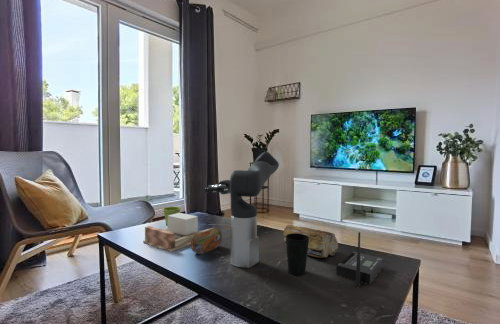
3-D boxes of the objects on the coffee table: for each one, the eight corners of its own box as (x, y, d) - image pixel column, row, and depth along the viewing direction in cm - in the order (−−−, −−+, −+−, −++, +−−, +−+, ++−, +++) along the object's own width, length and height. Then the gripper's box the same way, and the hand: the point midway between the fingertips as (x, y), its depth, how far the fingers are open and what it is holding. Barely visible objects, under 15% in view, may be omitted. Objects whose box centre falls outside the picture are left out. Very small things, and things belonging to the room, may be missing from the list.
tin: (194, 257, 106) (194, 235, 105) (189, 255, 107) (189, 233, 107) (222, 246, 117) (222, 226, 117) (216, 244, 119) (216, 225, 119)
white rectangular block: (197, 231, 126) (197, 216, 126) (186, 235, 120) (186, 219, 120) (179, 227, 133) (179, 212, 133) (167, 230, 127) (167, 215, 127)
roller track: (207, 238, 128) (207, 223, 127) (171, 251, 110) (171, 234, 110) (180, 231, 138) (180, 217, 137) (143, 242, 120) (143, 227, 120)
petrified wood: (279, 248, 114) (282, 224, 115) (296, 247, 123) (299, 224, 125) (322, 260, 101) (325, 232, 102) (338, 258, 110) (340, 232, 112)
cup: (303, 279, 88) (303, 242, 88) (281, 273, 92) (281, 237, 92) (311, 270, 95) (312, 235, 94) (290, 265, 99) (291, 231, 98)
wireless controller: (347, 260, 105) (349, 215, 104) (388, 270, 97) (389, 221, 96) (326, 279, 89) (327, 226, 89) (372, 293, 81) (374, 235, 80)
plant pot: (162, 222, 153) (162, 207, 152) (180, 221, 155) (180, 206, 155) (162, 227, 144) (162, 210, 143) (181, 226, 146) (181, 209, 146)
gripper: (218, 178, 156) (196, 181, 142) (238, 180, 149) (216, 184, 135) (218, 192, 157) (196, 196, 143) (237, 194, 149) (216, 199, 135)
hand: (206, 190), depth 139 cm, fingers closed
